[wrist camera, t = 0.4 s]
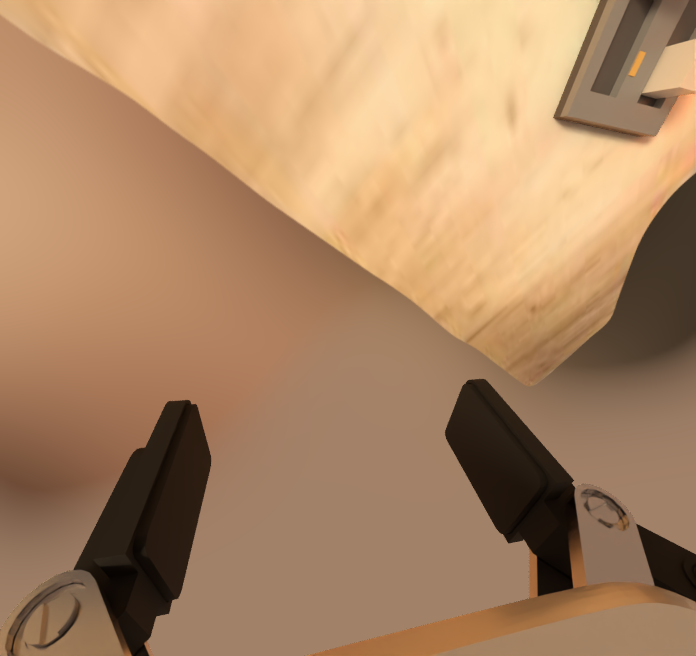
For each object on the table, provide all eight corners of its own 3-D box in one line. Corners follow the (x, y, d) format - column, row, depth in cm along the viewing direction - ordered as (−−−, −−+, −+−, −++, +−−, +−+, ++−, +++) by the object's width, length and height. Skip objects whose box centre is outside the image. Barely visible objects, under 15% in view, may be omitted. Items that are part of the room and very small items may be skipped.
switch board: (652, -131, 25) (680, -153, 23) (755, -79, 28) (786, -94, 27) (553, 117, 34) (567, 115, 33) (639, 136, 37) (656, 135, 36)
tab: (660, 48, 32) (709, 34, 28) (680, 54, 32) (729, 42, 29) (637, 94, 34) (679, 87, 30) (656, 98, 34) (699, 92, 31)
